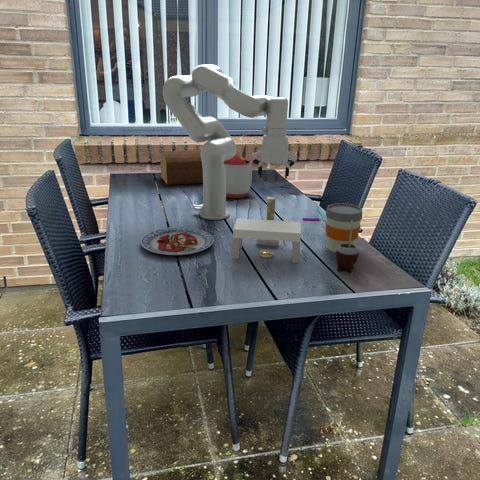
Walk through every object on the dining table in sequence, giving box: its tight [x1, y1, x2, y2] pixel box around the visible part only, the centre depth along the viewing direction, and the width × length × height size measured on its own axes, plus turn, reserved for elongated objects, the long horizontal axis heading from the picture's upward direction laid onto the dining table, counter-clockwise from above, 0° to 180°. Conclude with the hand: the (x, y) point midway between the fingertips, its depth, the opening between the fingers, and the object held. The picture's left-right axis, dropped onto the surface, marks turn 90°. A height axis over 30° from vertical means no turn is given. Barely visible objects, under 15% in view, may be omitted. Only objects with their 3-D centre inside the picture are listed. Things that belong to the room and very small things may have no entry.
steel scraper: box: [255, 196, 280, 247], centre depth 176 cm, size 8×21×12 cm, turn 174°
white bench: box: [232, 217, 302, 264], centre depth 160 cm, size 22×11×10 cm, turn 84°
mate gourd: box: [335, 220, 359, 274], centre depth 149 cm, size 8×8×15 cm
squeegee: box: [302, 208, 327, 222], centre depth 195 cm, size 29×2×10 cm
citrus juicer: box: [224, 154, 255, 199], centre depth 224 cm, size 16×17×20 cm
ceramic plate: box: [140, 226, 214, 256], centre depth 167 cm, size 26×26×3 cm
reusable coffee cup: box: [325, 202, 363, 253], centre depth 165 cm, size 13×13×15 cm
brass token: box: [258, 249, 275, 259], centre depth 161 cm, size 5×5×1 cm
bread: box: [159, 149, 203, 186], centre depth 249 cm, size 18×30×16 cm, turn 109°
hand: (273, 177), depth 180 cm, fingers open, 9 cm apart
